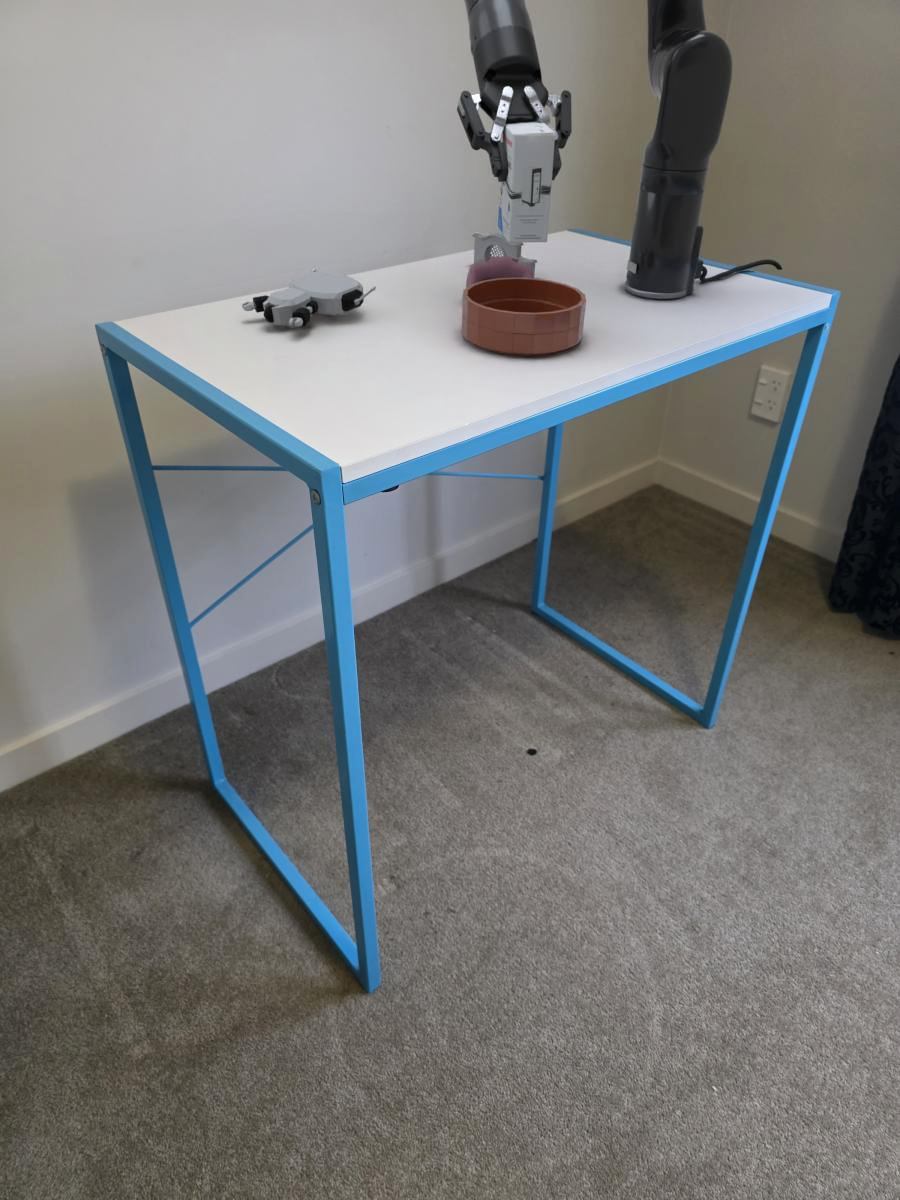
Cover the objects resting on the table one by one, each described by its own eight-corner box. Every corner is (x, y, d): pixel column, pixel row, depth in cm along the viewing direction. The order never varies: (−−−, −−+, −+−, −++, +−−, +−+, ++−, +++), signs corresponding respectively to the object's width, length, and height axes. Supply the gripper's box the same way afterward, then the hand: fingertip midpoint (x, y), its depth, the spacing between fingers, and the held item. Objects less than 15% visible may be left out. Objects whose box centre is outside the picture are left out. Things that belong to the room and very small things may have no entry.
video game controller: (532, 310, 127) (536, 261, 126) (532, 305, 122) (536, 253, 121) (465, 307, 128) (468, 258, 126) (463, 301, 123) (466, 250, 122)
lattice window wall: (536, 279, 135) (539, 239, 132) (529, 281, 134) (532, 241, 131) (477, 264, 141) (479, 226, 138) (470, 266, 140) (471, 228, 137)
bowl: (556, 315, 121) (559, 274, 117) (599, 353, 108) (605, 309, 105) (448, 322, 117) (449, 280, 114) (481, 362, 105) (483, 317, 102)
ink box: (496, 226, 109) (500, 120, 102) (535, 225, 109) (541, 120, 102) (508, 244, 102) (512, 131, 95) (549, 243, 102) (556, 131, 95)
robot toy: (300, 348, 110) (381, 313, 119) (294, 313, 107) (378, 280, 116) (239, 326, 116) (320, 295, 125) (233, 293, 113) (316, 263, 122)
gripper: (451, 22, 98) (477, 157, 95) (570, 23, 101) (597, 154, 98) (439, 72, 105) (463, 199, 103) (550, 72, 108) (575, 195, 106)
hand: (528, 176), depth 101 cm, fingers closed on ink box, 5 cm apart
